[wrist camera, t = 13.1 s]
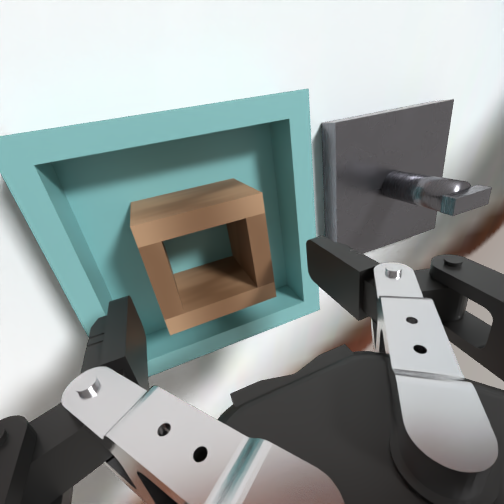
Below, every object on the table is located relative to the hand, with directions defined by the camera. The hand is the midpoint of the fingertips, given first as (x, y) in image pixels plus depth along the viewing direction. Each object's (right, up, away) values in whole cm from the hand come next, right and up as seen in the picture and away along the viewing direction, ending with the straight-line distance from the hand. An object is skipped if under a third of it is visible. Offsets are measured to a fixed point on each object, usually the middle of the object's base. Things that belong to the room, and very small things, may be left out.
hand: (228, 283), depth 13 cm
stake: (+11, +7, +10) cm, 16 cm away
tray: (-3, +3, +6) cm, 7 cm away
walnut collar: (-2, +2, +5) cm, 6 cm away
